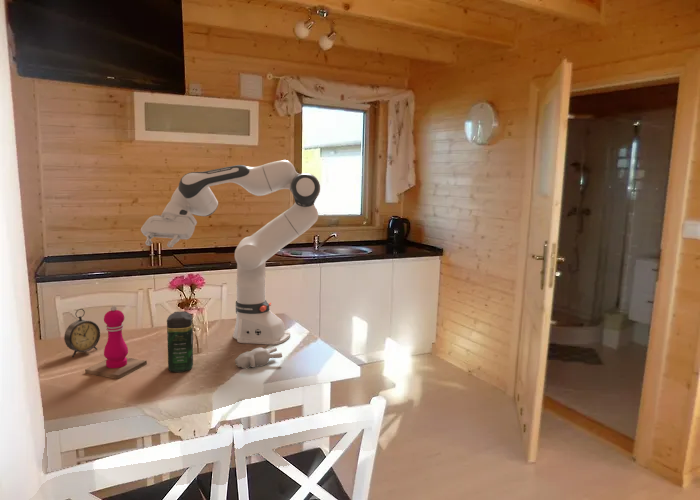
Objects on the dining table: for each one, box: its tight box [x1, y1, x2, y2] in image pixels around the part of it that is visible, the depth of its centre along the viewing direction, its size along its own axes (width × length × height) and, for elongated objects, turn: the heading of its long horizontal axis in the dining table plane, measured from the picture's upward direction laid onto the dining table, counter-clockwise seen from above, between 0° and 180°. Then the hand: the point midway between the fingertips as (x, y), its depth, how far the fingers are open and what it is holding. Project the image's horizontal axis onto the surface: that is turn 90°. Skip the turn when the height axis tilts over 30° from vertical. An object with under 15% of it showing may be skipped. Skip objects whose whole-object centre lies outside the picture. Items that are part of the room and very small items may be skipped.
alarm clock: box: [63, 308, 101, 358], centre depth 178 cm, size 11×5×16 cm, turn 148°
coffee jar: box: [166, 311, 194, 373], centre depth 167 cm, size 10×8×19 cm
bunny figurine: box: [234, 346, 283, 369], centre depth 173 cm, size 10×5×15 cm
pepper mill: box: [103, 305, 129, 368], centre depth 165 cm, size 7×7×20 cm
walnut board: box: [84, 356, 148, 380], centre depth 167 cm, size 13×13×1 cm
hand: (158, 245), depth 184 cm, fingers open, 8 cm apart
